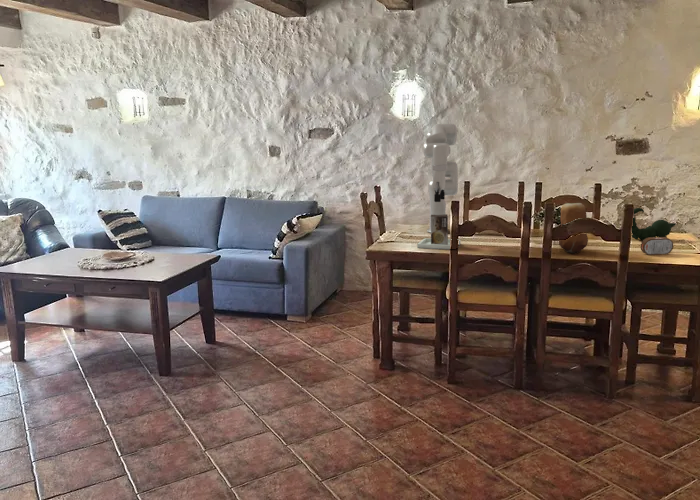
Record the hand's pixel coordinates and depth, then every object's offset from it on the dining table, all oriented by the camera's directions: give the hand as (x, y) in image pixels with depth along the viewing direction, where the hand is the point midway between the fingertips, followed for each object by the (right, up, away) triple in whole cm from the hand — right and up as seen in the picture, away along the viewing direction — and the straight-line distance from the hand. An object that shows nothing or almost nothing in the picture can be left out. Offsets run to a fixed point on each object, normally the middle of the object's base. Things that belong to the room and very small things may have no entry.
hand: (439, 200), depth 303 cm
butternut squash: (+63, -28, -19) cm, 72 cm away
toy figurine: (+114, -21, +5) cm, 117 cm away
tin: (+101, -29, -27) cm, 108 cm away
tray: (0, -24, +4) cm, 25 cm away
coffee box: (+1, -24, +5) cm, 24 cm away
